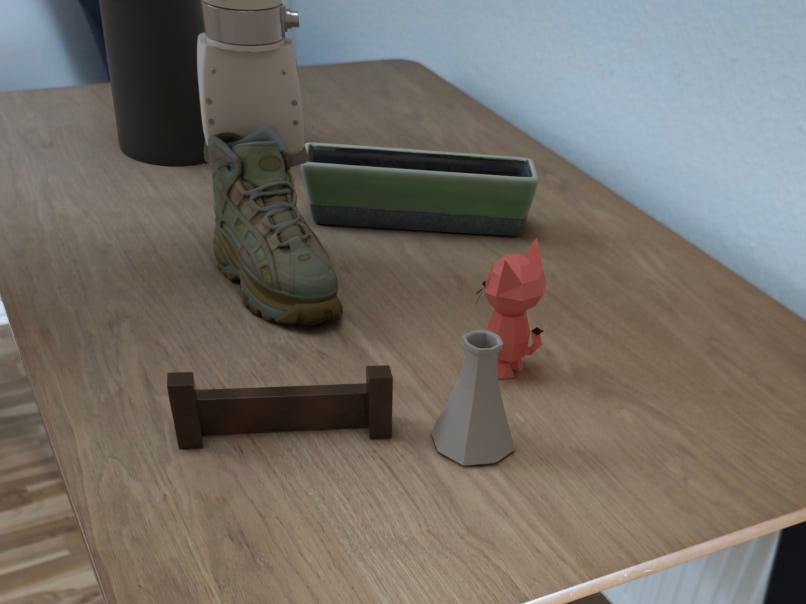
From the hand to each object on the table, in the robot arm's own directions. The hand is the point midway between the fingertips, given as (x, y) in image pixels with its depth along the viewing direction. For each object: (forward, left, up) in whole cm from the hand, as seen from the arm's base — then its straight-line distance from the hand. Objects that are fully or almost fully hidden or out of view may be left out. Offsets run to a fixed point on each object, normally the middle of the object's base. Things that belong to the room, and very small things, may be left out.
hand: (262, 218), depth 98 cm
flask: (+16, -39, -4) cm, 42 cm away
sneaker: (+1, -10, -4) cm, 11 cm away
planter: (+19, +7, -4) cm, 20 cm away
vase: (-10, +31, -4) cm, 33 cm away
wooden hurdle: (0, -35, -3) cm, 35 cm away
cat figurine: (+22, -27, -4) cm, 35 cm away
